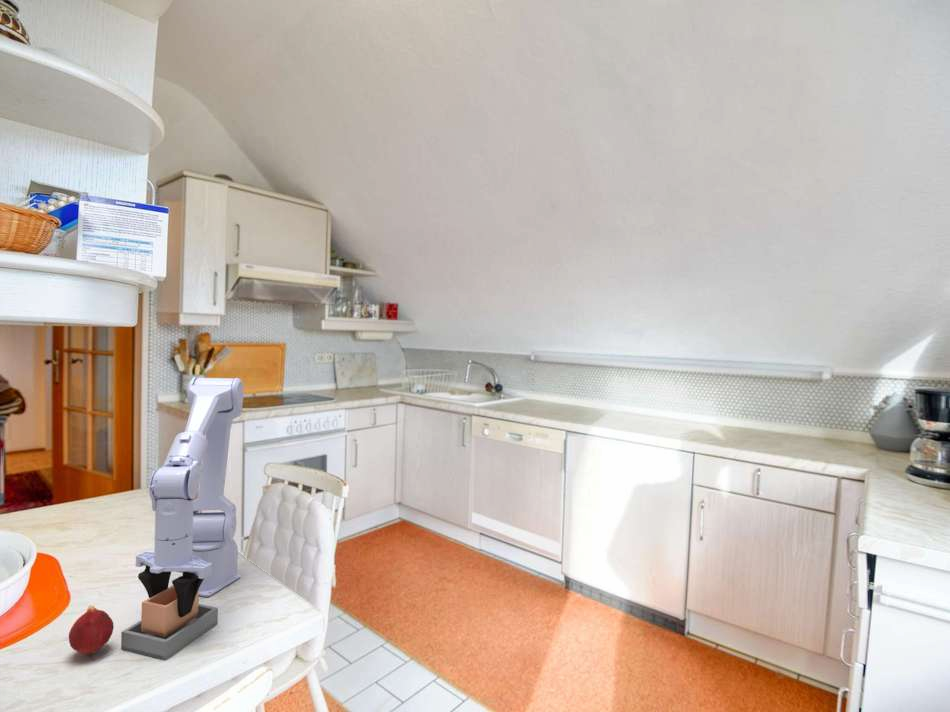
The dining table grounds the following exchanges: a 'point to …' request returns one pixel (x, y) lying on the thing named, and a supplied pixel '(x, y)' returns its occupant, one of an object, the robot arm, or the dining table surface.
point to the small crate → (165, 613)
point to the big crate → (174, 641)
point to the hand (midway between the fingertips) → (172, 611)
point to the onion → (91, 631)
